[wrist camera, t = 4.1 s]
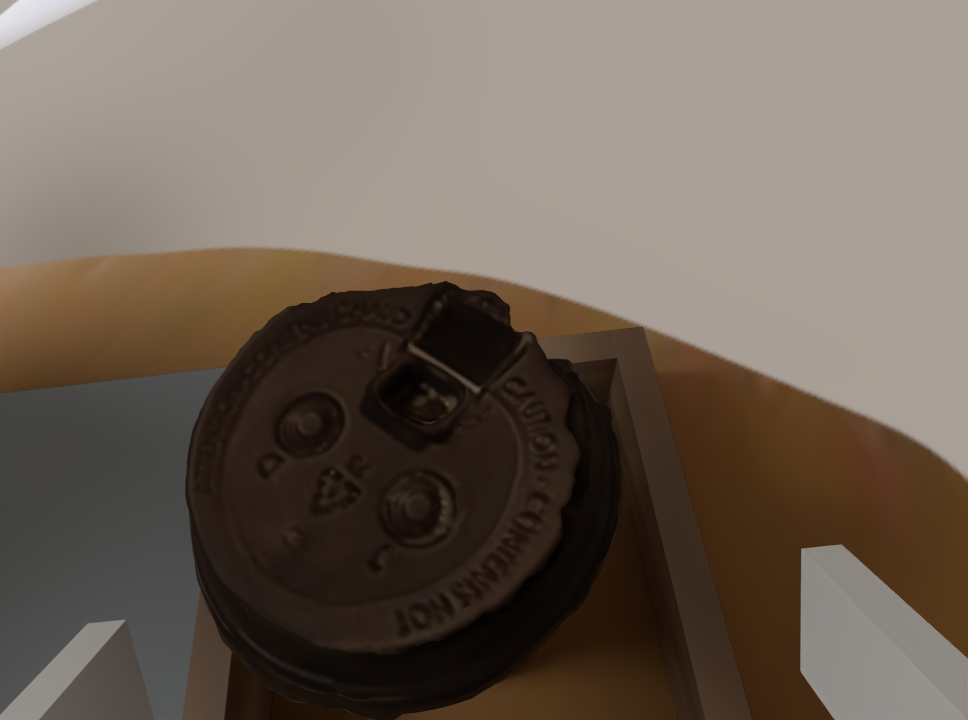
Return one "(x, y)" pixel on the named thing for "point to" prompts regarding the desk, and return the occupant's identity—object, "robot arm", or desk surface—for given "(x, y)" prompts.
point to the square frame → (661, 535)
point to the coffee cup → (397, 498)
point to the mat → (99, 525)
